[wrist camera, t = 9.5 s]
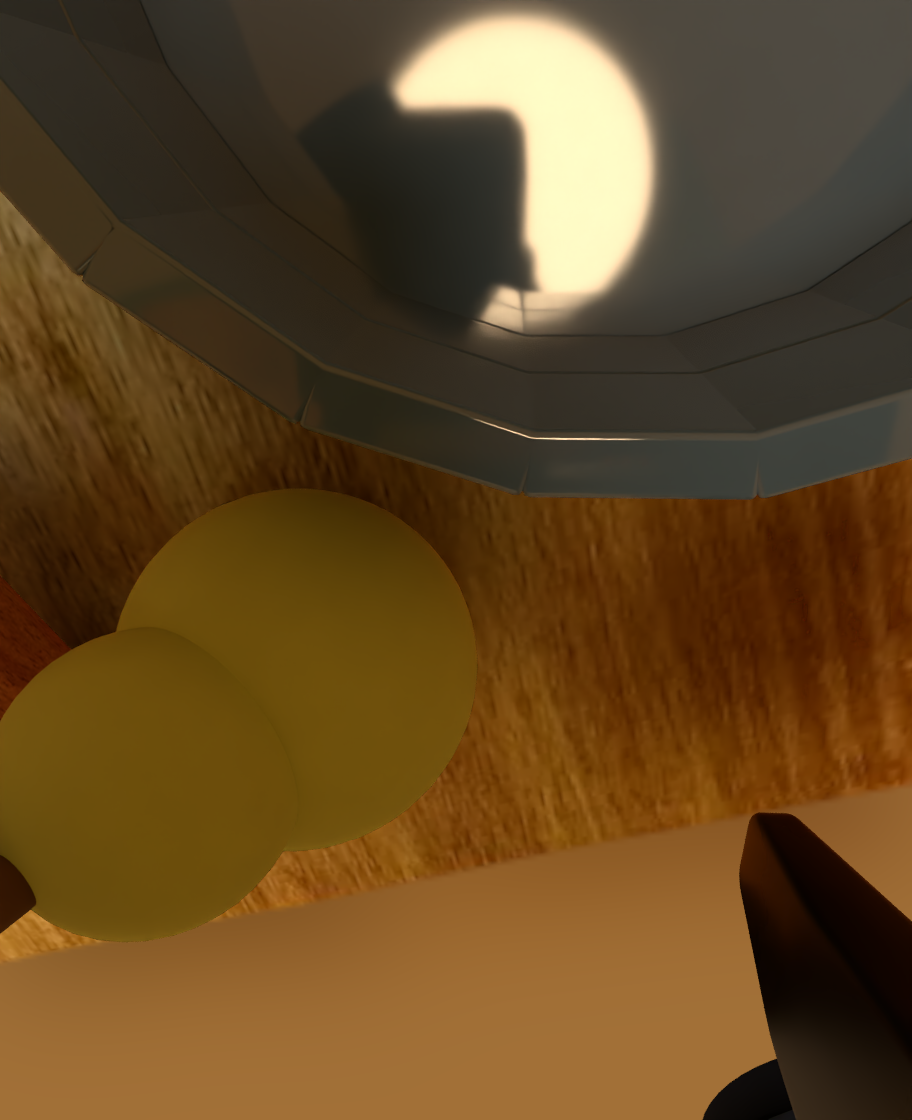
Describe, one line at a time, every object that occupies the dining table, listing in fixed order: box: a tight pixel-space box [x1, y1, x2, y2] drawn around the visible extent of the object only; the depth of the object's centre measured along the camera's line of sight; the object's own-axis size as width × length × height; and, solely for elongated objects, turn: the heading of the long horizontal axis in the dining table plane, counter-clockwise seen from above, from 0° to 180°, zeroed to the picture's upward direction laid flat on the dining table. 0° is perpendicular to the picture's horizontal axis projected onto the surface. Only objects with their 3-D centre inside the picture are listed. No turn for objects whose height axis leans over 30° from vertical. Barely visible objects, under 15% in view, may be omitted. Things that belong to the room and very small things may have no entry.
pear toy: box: [0, 489, 478, 942], centre depth 11 cm, size 5×5×9 cm
